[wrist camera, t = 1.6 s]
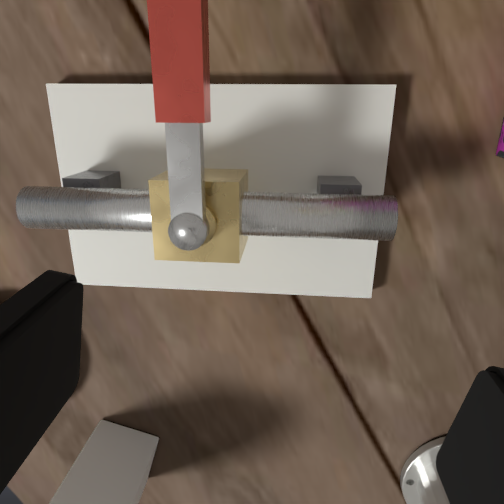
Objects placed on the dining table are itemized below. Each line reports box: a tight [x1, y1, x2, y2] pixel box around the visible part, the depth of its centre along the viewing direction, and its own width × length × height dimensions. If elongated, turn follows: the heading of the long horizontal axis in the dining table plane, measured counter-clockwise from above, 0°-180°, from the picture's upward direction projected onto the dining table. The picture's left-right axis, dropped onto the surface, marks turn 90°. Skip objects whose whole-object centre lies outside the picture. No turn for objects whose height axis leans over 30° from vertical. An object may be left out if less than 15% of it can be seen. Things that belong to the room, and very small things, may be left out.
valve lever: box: [147, 0, 211, 251], centre depth 24 cm, size 3×15×2 cm, turn 0°
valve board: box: [46, 84, 396, 298], centre depth 36 cm, size 28×18×2 cm, turn 90°
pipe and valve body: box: [16, 168, 398, 263], centre depth 31 cm, size 27×6×9 cm, turn 90°
